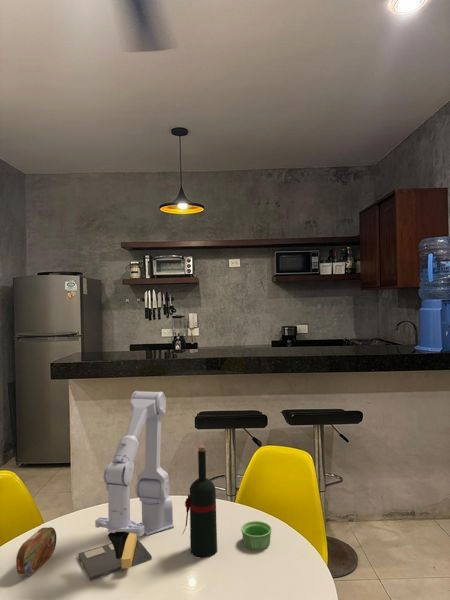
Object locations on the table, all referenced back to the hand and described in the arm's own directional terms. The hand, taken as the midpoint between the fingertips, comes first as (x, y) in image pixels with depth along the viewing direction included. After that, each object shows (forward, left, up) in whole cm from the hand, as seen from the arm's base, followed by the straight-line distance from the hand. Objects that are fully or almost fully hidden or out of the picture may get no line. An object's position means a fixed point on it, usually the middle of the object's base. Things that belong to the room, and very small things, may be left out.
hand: (120, 556), depth 119 cm
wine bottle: (-22, +5, -3) cm, 23 cm away
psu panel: (0, -5, -3) cm, 6 cm away
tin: (+19, -14, -3) cm, 24 cm away
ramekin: (-38, +11, -3) cm, 40 cm away
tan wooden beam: (-4, -3, -1) cm, 5 cm away
